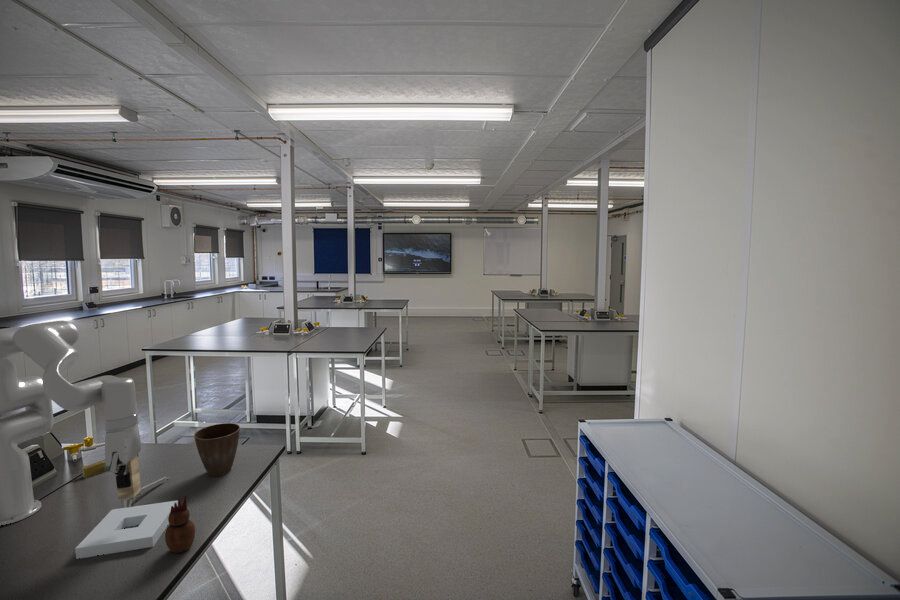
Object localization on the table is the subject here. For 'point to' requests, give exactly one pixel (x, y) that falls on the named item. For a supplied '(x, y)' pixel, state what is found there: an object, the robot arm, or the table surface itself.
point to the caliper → (128, 501)
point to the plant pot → (217, 447)
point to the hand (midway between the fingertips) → (128, 482)
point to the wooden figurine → (179, 528)
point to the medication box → (95, 469)
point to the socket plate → (126, 530)
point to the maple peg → (135, 480)
